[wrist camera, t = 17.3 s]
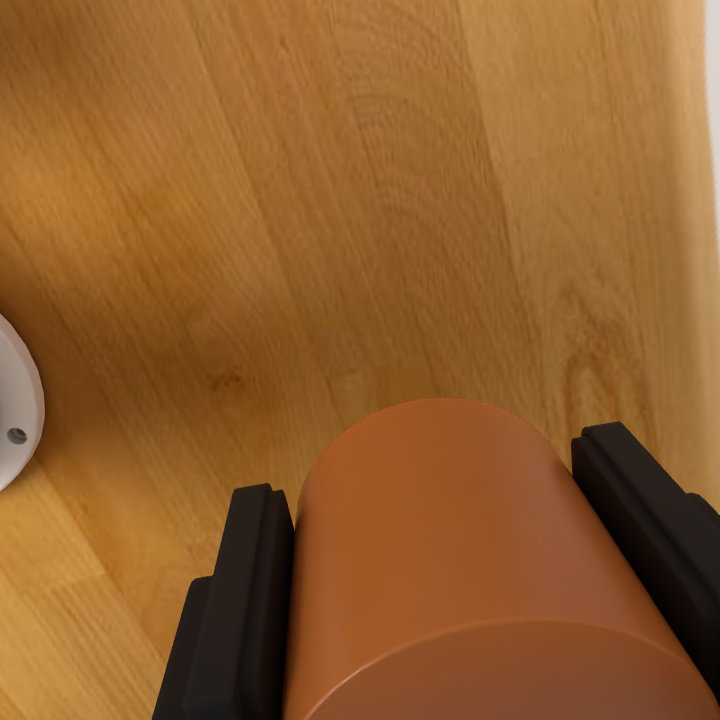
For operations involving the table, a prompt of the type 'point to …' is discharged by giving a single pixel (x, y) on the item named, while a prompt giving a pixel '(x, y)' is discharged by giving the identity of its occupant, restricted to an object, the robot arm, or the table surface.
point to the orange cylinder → (468, 584)
